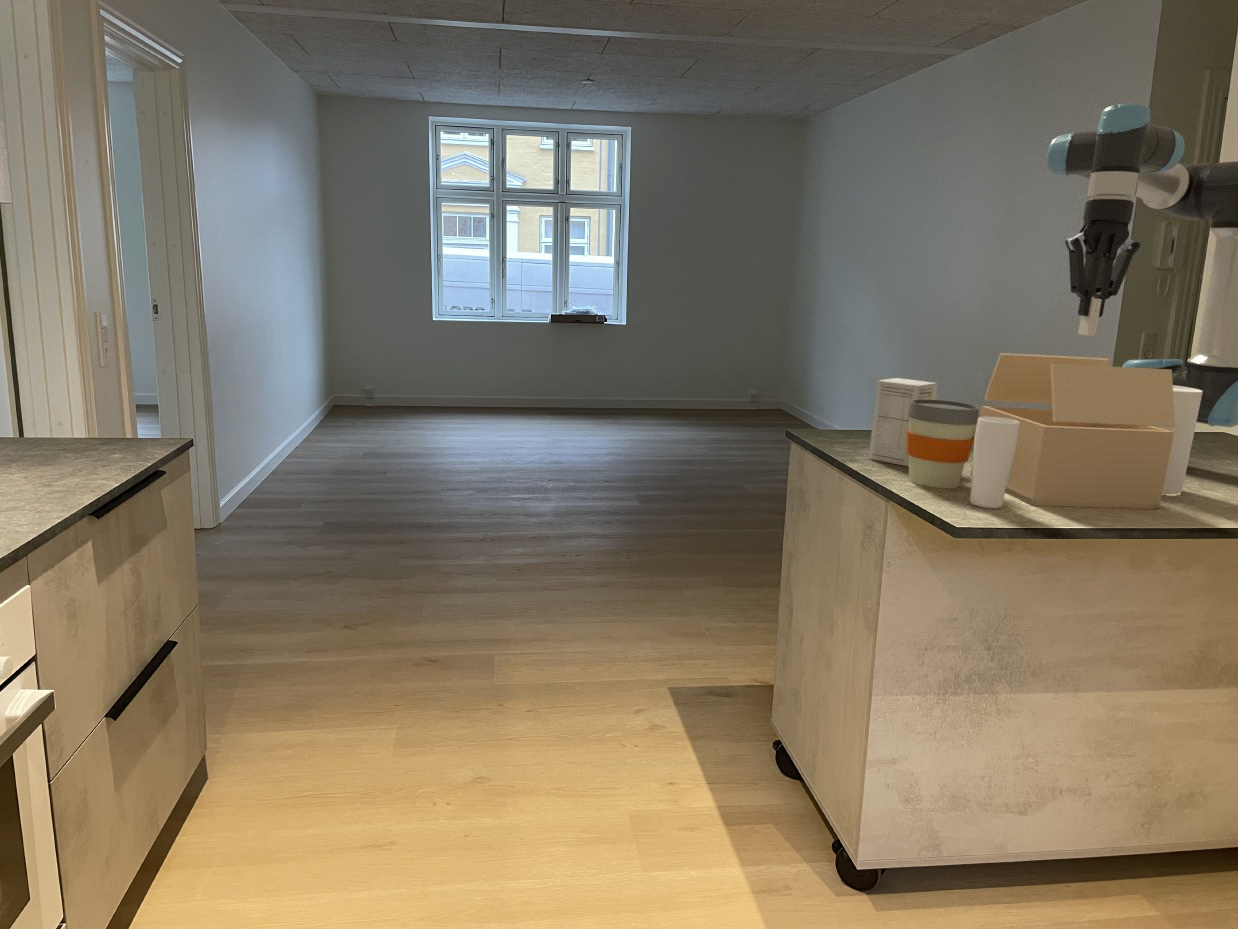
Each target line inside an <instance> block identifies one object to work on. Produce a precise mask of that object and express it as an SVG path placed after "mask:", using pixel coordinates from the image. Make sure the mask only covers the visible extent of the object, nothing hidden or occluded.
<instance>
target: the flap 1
mask: <svg viewBox="0 0 1238 929" xmlns="http://www.w3.org/2000/svg"><path fill="white" fill-rule="evenodd" d="M1109 362H1110V359H1109V358H1104V357H1085V356H1084V357H1082V356H1081V357H1080V356H1066V355H1065V356H1063V355H1047V354H1026V353H1025V354H1023V353H1008V352H1006V353H1004V352H999V356H998V358H997V361H996V363H995V364H996V365H995V367H994V368H993V369H994V370H993V372H992V376H991V377H990V380H989V384H988V387H987V390H986V392H985V396H984V398H983V399H984V401H988V402H1007V403H1010V402H1012V403H1026V404H1027V403H1030V404H1034V403H1035V404H1049V405H1050V404H1051V405H1052V380H1051V364H1071V365H1090V366H1108V365H1109Z"/></svg>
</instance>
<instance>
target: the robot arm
mask: <svg viewBox="0 0 1238 929" xmlns="http://www.w3.org/2000/svg"><path fill="white" fill-rule="evenodd" d="M1185 143H1186V142H1185V140H1184V138H1183V136H1182V135H1181V133H1179V132H1178V131H1176V130H1174V129H1172V128H1171V127H1168V126H1161V125H1158V124H1152V123H1151V109H1150V106H1148V105H1147V104H1140V103H1120V104H1119V103H1118V104H1113V105H1109V106H1106V108H1104V109H1103V110H1102V112H1101V114H1100V120H1099V123H1098V128H1097V129H1096V131H1095V130H1094V131H1083V132H1074V131H1073V132H1071V133H1065V134H1060V135H1058V136H1057V137H1055V138H1054V139H1053V140H1051V143H1050V144H1049V146H1048V150H1047V155H1046V162H1047V166H1048V170H1049V171H1050V172H1051V173H1052V174H1054V175H1057V176H1058V175H1060V176H1069V175H1076V176H1080V177H1083V178H1086V179H1088V180H1089V184H1088V189H1087V195H1086V196H1087V197H1088V198H1089V199H1088V200H1087V201H1086V202H1085V203H1084V204H1085V205H1084V212H1083V218H1082V220H1083V225H1082V227H1081V228H1080V230H1079V233H1078V234H1076V235H1075V236H1073V237H1069V238H1066V239H1065V241H1064V243H1065V246H1066V247H1067V251H1068V258H1069V263H1068V264H1069V283H1070V293H1072V294H1075V295H1077V297H1078V298H1079V305H1078V312H1077V315H1078V316H1079V317H1080V320H1079V321H1080V322H1079V328H1078V331H1077V334H1078V335H1081V336H1092V337H1093V336H1094V337H1096V334H1097V327H1098V321H1099V317H1100V318H1101V317H1103V314H1104V309H1105V303H1106V300H1109V299H1110V298H1111V297H1114V296H1115V297H1116V296H1117V295H1118V294H1119V291H1120V289H1121V286H1122V284H1123V281H1124V279H1125V276H1126V274H1127V271H1128V269H1129V266H1130V264H1131V261H1132V260H1133V257H1134V255H1135V254H1136V253H1137V251H1138V250H1139V249H1140V247H1141V243H1140V242H1139V241H1134V240H1133V239H1131V237H1129V236H1130V230H1129V225H1130V223H1131V221H1132V216H1133V212H1134V206H1135V202H1134V201H1132V199H1134V198H1136V197H1137V198H1140V199H1141V200H1142V202H1143V204H1144V205H1145V206H1147V207H1149V208H1151V209H1154V210H1156V211H1159V212H1162V213H1165V214H1167V215H1168V214H1169V215H1171V216H1175V217H1178V218H1182V219H1186V220H1194V221H1205V222H1207V221H1210V225H1209V226H1210V227H1209V230H1210V232H1211V233H1212V234H1213V235H1214V236H1215V238H1216V241H1215V247H1214V253H1213V259H1212V265H1211V270H1210V276H1209V282H1208V289H1207V293H1206V299H1205V305H1204V311H1203V317H1202V321H1201V328H1200V334H1199V339H1198V346H1197V351H1196V353H1195V354H1194V355H1192V356H1190V357H1189V358H1188V359H1187V361H1186V364H1185V365H1186V366H1184V361H1183V360H1182V359H1180V358H1177V359H1176V358H1175V359H1172V358H1171V359H1166V358H1163V359H1162V358H1159V359H1129V360H1127V361H1125V362H1124V363H1123V364H1122V367H1130V368H1150V369H1169V370H1172V382H1173V385H1175V386H1183V387H1189V388H1194V389H1199V390H1202V391H1203V392H1202V397H1201V402H1200V407H1199V412H1198V416H1197V421H1196V424H1198V423H1199V424H1204V425H1208V426H1210V427H1215V426H1216V427H1225V428H1233V427H1236V426H1238V161H1224V162H1206V163H1205V162H1204V163H1192V164H1183V163H1182V164H1181V163H1179V162H1180V161H1181V159H1182V158H1183V156H1184V153H1185V150H1186V149H1185V147H1186V145H1185ZM1083 246H1084V247H1085V250H1084V248H1083ZM1118 250H1120V251H1118Z"/></svg>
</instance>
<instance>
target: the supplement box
mask: <svg viewBox="0 0 1238 929" xmlns="http://www.w3.org/2000/svg"><path fill="white" fill-rule="evenodd" d="M937 392H938V383H937V382H932V381H931V382H930V381H924V380H916V379H915V380H914V379H907V378H901V377H899V378H898V377H895V378H885V379H880V380H877V384H876V392H875V400H874V408H873V415H872V417H873V418H872V425H871V435H870V442H869V443H870V444H869V450H868V451H869V453H868V460H873V461H879V462H885V463H889V464H892V465H893V464H895V465H899V466H903V467H909V455H908V454H907V430H908V429H909V416H908V411H909V407H910V403H911V400H915V399H933V400H937Z"/></svg>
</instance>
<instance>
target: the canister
mask: <svg viewBox="0 0 1238 929" xmlns="http://www.w3.org/2000/svg"><path fill="white" fill-rule="evenodd" d="M1202 392H1203V391H1202V390H1199V389H1194V388H1189V387H1183V386H1175V385H1173V399H1174V417H1175V426H1174V427H1163V426H1153V427H1157V428H1161V429H1164V430H1168V431H1172V432H1174V436H1173V441H1172V446H1171V451H1170V456H1169V461H1168V466H1167V471H1166V476H1165V481H1164V486H1163V491H1162V494H1165V495H1166V494H1178V493H1181V492H1183V488H1184V483H1185V478H1186V474H1187V469H1188V465H1189V459H1190V454H1191V449H1192V444H1193V440H1194V435H1195V430H1196V425H1197V422H1196V421H1197V416H1198V412H1199V407H1200V402H1201V397H1202Z"/></svg>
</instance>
